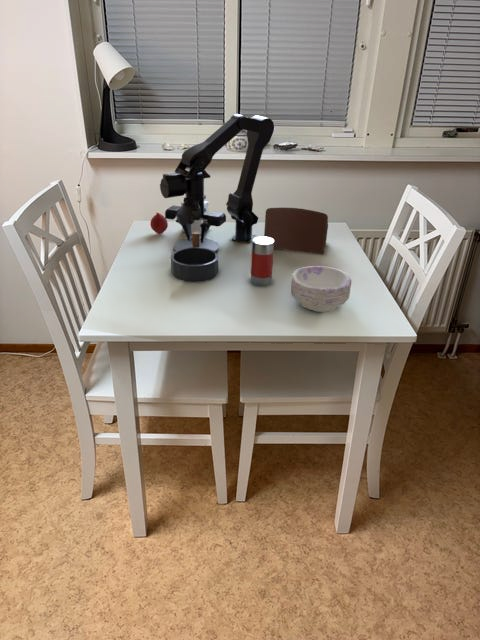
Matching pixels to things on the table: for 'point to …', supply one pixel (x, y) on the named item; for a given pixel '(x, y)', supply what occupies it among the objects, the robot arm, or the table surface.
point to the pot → (194, 264)
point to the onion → (159, 223)
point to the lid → (196, 243)
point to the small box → (196, 225)
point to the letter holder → (297, 229)
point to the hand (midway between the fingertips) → (195, 241)
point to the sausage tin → (262, 261)
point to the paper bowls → (320, 287)
